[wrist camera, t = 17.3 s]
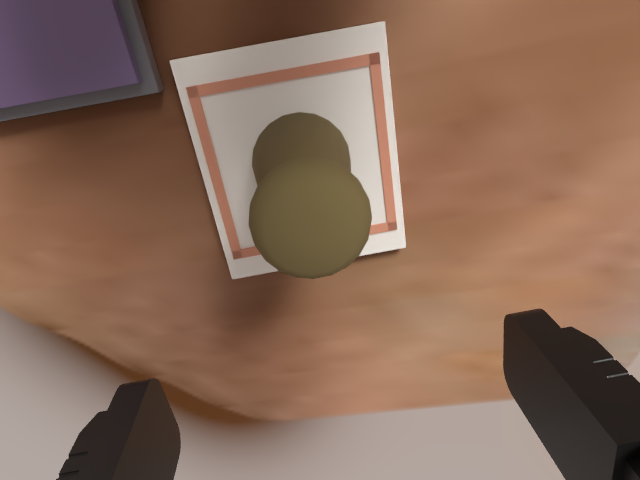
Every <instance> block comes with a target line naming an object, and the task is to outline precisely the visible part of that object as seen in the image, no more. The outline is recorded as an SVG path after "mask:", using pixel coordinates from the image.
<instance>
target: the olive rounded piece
mask: <svg viewBox="0 0 640 480" xmlns="http://www.w3.org/2000/svg"><path fill="white" fill-rule="evenodd" d="M252 168H253V171H254V175H255V179H256V183H257V188H256V190H255V193H254V195H253V198H252V200H251V203H250V208H249V224H248V225H249V228H250V232H251V236H252V239H253V242H254V244H255V246H256V248H257V249H258V251H259V252H260V254H261V255H262V257H263V258H264V259H265V261H266V262H268V263H269V264H270V265H272V266H273V267H274V268H276V269H277V270H278V271H280V272H283V273H285V274H288V275H291V276H293V277H297V278H310V279H315V278H320V277H325V276H330V275H333V274H334V273H336V272H338V271H340V270H342V269H344V268H346V267H348V266H349V265H350V264H351V263H352V262H353V261H354V260H355V259H356V258H357V257H358V256H359V255H360V254H361V252H362V250H363V248H364V246H365V244H366V243H367V241H368V238H369V233H370V227H371V222H372V213H371V207H370V200H369V198H368V196H367V194H366V192H365V190H364V189H363V187H362V185H361V183H360V181H359V180H358V179H357V178H356V177H355V176H354V175H353V174H352V173H351V160H350V154H349V148H348V144H347V142H346V140H345V138H344V137H343V135H342V133H341V131H340V130H339V129H338V128H337V127H336V126H335V125H333V124H332V123H331V122H330V121H329V120H327V119H325V118H323V117H321V116H318V115H316V114H312V113H303V112H297V113H292V114H287V115H283V116H281V117H279V118H278V119H276V120H274V121H273V122H271V123H269V124H268V126H267V127H266V128H265V129H264V130H263V131H262V132H261V134H260V135H259V136H258V139H257V141H256V144H255V146H254V148H253V156H252Z"/></svg>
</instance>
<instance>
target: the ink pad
mask: <svg viewBox="0 0 640 480" xmlns="http://www.w3.org/2000/svg"><path fill="white" fill-rule="evenodd" d="M163 90H164V88H163V85H162V82H161V78H160V75H159V72H158V68H157V65H156V62H155V58H154V55H153V52H152V48H151V45H150V42H149V38H148V35H147V32H146V28H145V25H144V22H143V18H142V15H141V12H140V8H139V5H138V2H137V0H0V122H1V121H6V120H12V119H17V118H23V117H28V116H34V115H39V114H44V113H50V112H55V111H61V110H66V109H72V108H77V107H83V106H88V105H94V104H99V103H105V102H110V101H115V100H121V99H126V98H132V97H137V96H143V95H148V94H154V93H159V92H161V91H163Z"/></svg>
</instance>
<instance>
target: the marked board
mask: <svg viewBox="0 0 640 480" xmlns="http://www.w3.org/2000/svg"><path fill="white" fill-rule="evenodd" d="M169 62H170V65H171V69H172V72H173V75H174V79H175V82H176V86H177V89H178V93H179V96H180V100H181V103H182V107H183V110H184V114H185V117H186V121H187V124H188V128H189V131H190V135H191V138H192V142H193V145H194V149H195V152H196V156H197V159H198V163H199V166H200V169H201V173H202V176H203V180H204V183H205V187H206V190H207V194H208V197H209V201H210V204H211V208H212V211H213V215H214V218H215V222H216V225H217V229H218V232H219V236H220V239H221V243H222V246H223V250H224V253H225V257H226V260H227V263H228V267H229V270H230V274H231V277H232V279H238V278H243V277H249V276H254V275H259V274H265V273H270V272H276V271H278V270H277V269H276V268H274V267H273V266H272V265H270V264H269V263H268V262H266V261H265V259H264V258H263V257H262V255H261V254H260V252H259V251H258V249H257V248H256V246H255V244H254V242H253V239H252V236H251V232H250V228H249V225H248V224H249V208H250V203H251V200H252V198H253V195H254V193H255V190H256V188H257V183H256V179H255V175H254V171H253V168H252V156H253V148H254V146H255V144H256V141H257V139H258V136H259V135H260V134H261V132H262V131H263V130H264V129H265V128H266V127H267V126H268V124H269V123H271V122H273V121H274V120H276V119H278V118H279V117H281V116H283V115H287V114H292V113H297V112H303V113H312V114H316V115H318V116H321V117H323V118H325V119H327V120H329V121H330V122H331V123H332V124H333V125H335V126H336V127H337V128H338V129H339V130H340V131H341V133H342V135H343V137H344V138H345V140H346V142H347V144H348V148H349V154H350V160H351V173H352V174H353V175H354V176H355V177H356V178H357V179H358V180H359V181H360V183H361V185H362V187H363V189H364V190H365V192H366V194H367V196H368V198H369V200H370V207H371V213H372V222H371V227H370V233H369V238H368V241H367V243H366V244H365V246H364V248H363V250H362V252H361V254H360V255H359V256H363V255H368V254H373V253H379V252H384V251H390V250H395V249H401V248H406V241H405V230H404V219H403V209H402V198H401V187H400V177H399V166H398V155H397V145H396V134H395V123H394V113H393V102H392V91H391V80H390V70H389V59H388V48H387V38H386V27H385V21H382V22H376V23H371V24H365V25H360V26H354V27H349V28H343V29H338V30H332V31H327V32H321V33H316V34H310V35H305V36H300V37H294V38H289V39H283V40H278V41H272V42H267V43H261V44H256V45H250V46H245V47H240V48H234V49H229V50H223V51H218V52H212V53H207V54H201V55H196V56H190V57H185V58H179V59H174V60H169Z"/></svg>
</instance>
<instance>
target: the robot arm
mask: <svg viewBox="0 0 640 480" xmlns="http://www.w3.org/2000/svg"><path fill="white" fill-rule="evenodd" d="M503 368H504V375H505V379H506V382H507V385H508V388H509V390H510V392H511V394H512V396H513V397H514V399H515V401H516V402H517V404H518V405H519V407H520V408H521V410H522V412H523V413H524V415H525V416H526V418H527V419H528V421H529V423H530V424H531V426H532V427H533V429H534V430H535V432H536V434H537V435H538V437H539V438H540V440H541V442H542V443H543V445H544V446H545V448H546V449H547V451H548V453H549V454H550V456H551V457H552V459H553V460H554V462H555V464H556V465H557V467H558V468H559V470H560V471H561V473H562V475H563V476H564V478H565V479H566V480H640V383H639V382H638V381H637V380H636V379H635V378H634V377H633V376H632V375H629V374H628V371H627V370H626V369H625V368H624V367H623V366H622V365H621V364H620V363H619V362H618V361H617V360H614V359H613V356H612V355H611V354H610V353H609V352H608V351H607V350H606V349H605V348H604V347H603V346H602V345H601V344H600V343H599V342H598V341H597V340H595V339H594V338H592V337H590V336H588V335H586V334H584V333H582V332H580V331H579V330H577V329H575V328H573V327H566V328H560V326H559V325H558V324H557V323H556V322H555V321H554V320H553V319H552V318H551V317H550V316H549V315H548V314H547V313H546V312H545V311H544V310H542V309H535V310H529V311H524V312H518V313H513V314H508V315H506V316H505V319H504V354H503ZM179 454H180V432H179V427H178V424H177V422H176V420H175V417H174V415H173V412H172V410H171V408H170V405H169V403H168V400H167V398H166V396H165V393H164V391H163V389H162V386H161V384H160V382H159V381H158V380H157V379H155V378H153V379H148V380H142V381H137V382H132V383H126V384H122V385H120V386H119V387H118V389H117V391H116V393H115V395H114V397H113V399H112V401H111V404H110V406H109V408H108V410H107V411H103V412H99V413H97V414H96V416H95V417H94V418H93V419H92V420H91V421H90V422H89V423H88V424H87V425H86V427H85V428H84V429H83V430H82V431H81V432H80V433H79V435H78V437H77V439H76V441H75V443H74V446H73V447H72V449H71V451H70V453H69V459H67V460H66V461H65V463H64V465H63V467H62V469H61V471H60V473H59V478H58V479H56V480H173V479H174V475H175V471H176V467H177V463H178V459H179Z"/></svg>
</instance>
